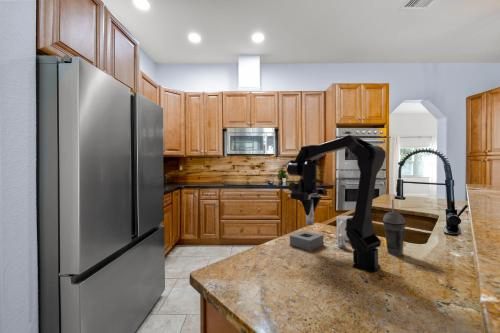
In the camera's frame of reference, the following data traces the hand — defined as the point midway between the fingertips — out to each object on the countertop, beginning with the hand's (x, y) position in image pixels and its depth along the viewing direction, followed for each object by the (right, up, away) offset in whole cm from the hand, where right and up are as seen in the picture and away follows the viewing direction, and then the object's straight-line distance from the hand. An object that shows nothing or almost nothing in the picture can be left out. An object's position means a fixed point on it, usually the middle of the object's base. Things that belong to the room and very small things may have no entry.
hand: (309, 214), depth 93 cm
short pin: (+13, -13, -1) cm, 18 cm away
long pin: (0, -4, 0) cm, 4 cm away
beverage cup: (+30, -13, -8) cm, 33 cm away
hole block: (0, -14, +3) cm, 14 cm away
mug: (+19, -13, +10) cm, 25 cm away
